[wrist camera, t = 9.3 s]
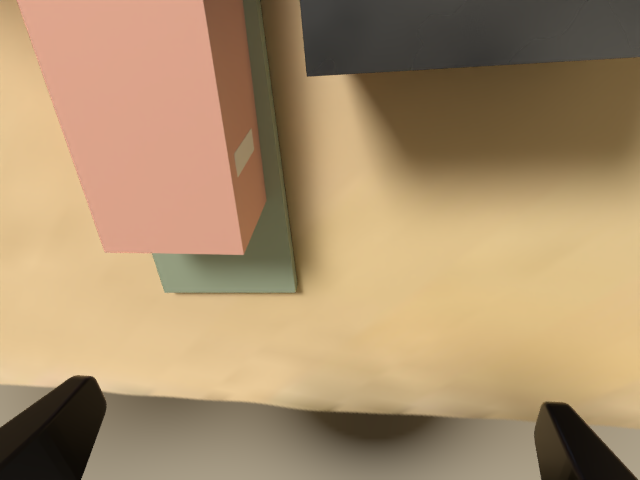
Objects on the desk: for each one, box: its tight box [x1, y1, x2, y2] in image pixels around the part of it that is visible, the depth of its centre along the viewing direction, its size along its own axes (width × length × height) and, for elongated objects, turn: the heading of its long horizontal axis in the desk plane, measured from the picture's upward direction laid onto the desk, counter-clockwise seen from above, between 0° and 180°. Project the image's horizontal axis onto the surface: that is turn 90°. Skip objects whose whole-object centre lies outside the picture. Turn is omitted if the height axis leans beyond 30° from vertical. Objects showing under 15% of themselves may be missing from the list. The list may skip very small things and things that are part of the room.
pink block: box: [17, 0, 267, 255], centre depth 14 cm, size 5×13×4 cm, turn 3°
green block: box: [152, 0, 297, 293], centre depth 19 cm, size 6×14×1 cm, turn 5°
